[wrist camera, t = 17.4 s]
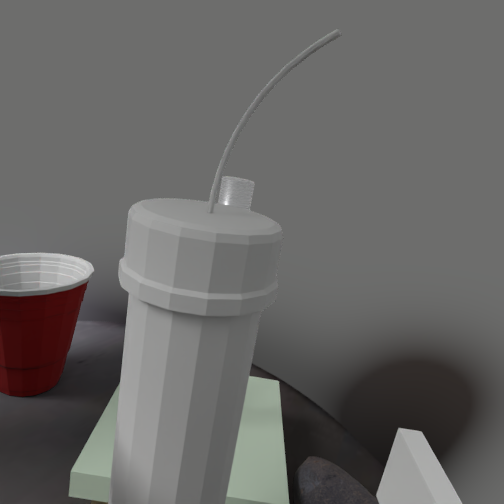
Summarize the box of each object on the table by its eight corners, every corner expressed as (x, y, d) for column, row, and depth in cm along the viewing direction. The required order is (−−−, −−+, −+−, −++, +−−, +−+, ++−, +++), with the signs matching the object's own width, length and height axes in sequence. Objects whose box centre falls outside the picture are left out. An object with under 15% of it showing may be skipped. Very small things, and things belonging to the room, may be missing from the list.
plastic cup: (10, 341, 47) (13, 239, 43) (103, 362, 46) (113, 260, 43) (-72, 399, 36) (-76, 271, 33) (47, 426, 36) (55, 299, 32)
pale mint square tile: (283, 530, 27) (289, 506, 27) (68, 496, 27) (70, 471, 26) (274, 398, 41) (278, 381, 40) (132, 374, 40) (134, 356, 40)
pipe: (144, 611, 24) (221, 50, 16) (229, 702, 21) (375, 56, 13) (52, 710, 19) (101, -4, 12) (143, 846, 16) (291, -15, 9)
